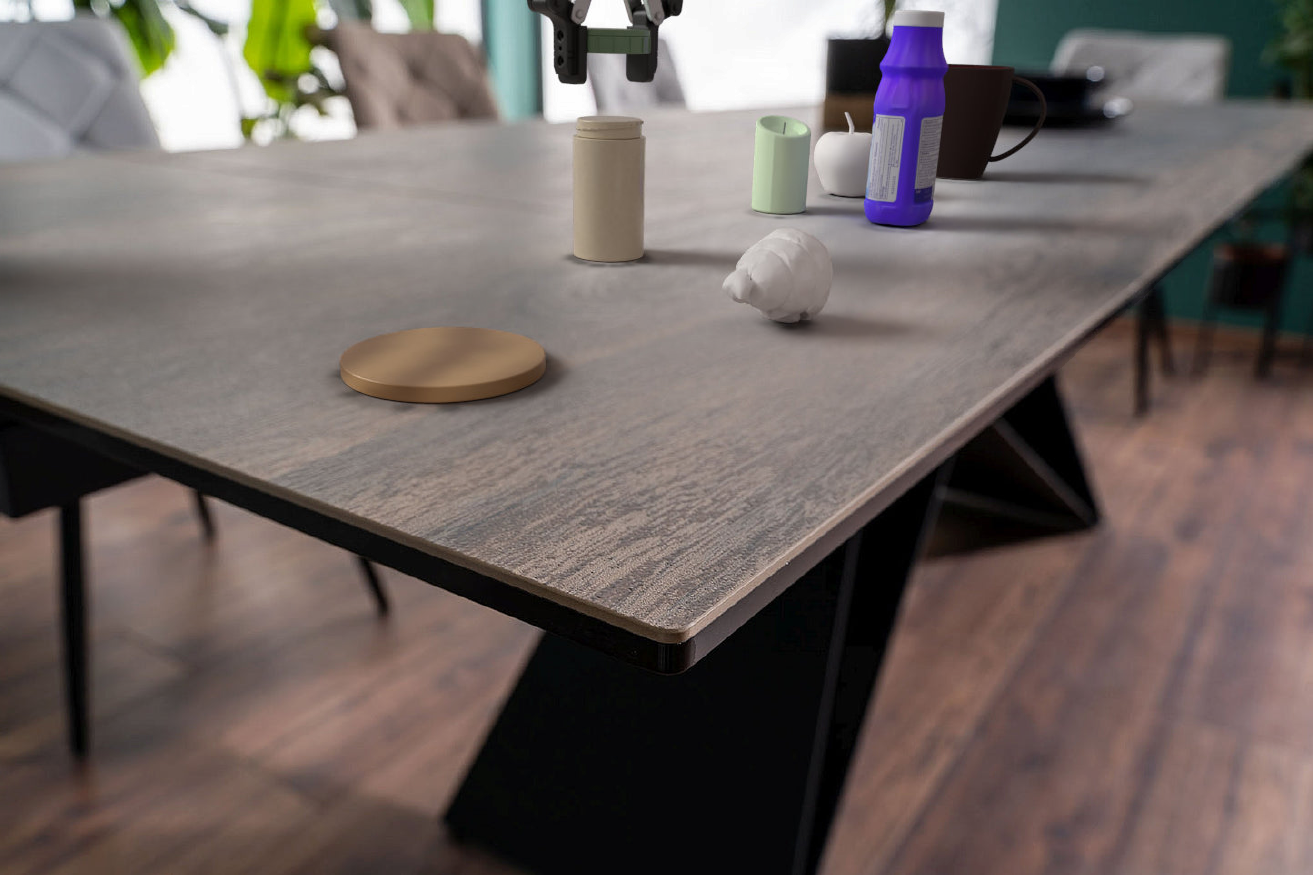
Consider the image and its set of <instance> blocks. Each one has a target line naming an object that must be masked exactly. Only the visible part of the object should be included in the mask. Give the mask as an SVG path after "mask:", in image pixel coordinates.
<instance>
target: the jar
mask: <svg viewBox="0 0 1313 875" xmlns="http://www.w3.org/2000/svg"><path fill="white" fill-rule="evenodd" d="M643 125H644V120H642V118H640V117H633V116H625V115H623V116H622V115H586V116H584V115H583V116H579V117H577V119H576V125H575V131H576V134H573V135H572V222H573V223H572V224H573V225H572V229H573V231H572V232H573V233H572V234H573V235H572V236H573V238H572V239H573V240H572V242H573V243H572V244H573V255H574V256H575V257H576V258H579V259H582V260H586V261H591V262H605V263H608V262H609V263H615V262H627V261H635V260H638V259H641V258H642V257H644V254H645V247H644V246H645V199H646V154H647V153H646V146H647V145H646V144H647V137H646V136H645V135H643V134H642V131H643Z"/></svg>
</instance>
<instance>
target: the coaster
mask: <svg viewBox="0 0 1313 875" xmlns="http://www.w3.org/2000/svg"><path fill="white" fill-rule="evenodd" d="M339 358H340V359H339V369H340V377H341V379H342V381H343V382H344V384H345V385H347V386H348V387H349V388H351V389H353V390H354V391H356V392H359V393H361V394H364V395H367V396H371V397H374V398H379V399H383V400H388V401H389V400H391V401H396V402H407V403H421V404H422V403H423V404H424V403H425V404H426V403H427V404H428V403H430V404H433V403H434V404H436V403H437V404H438V403H439V404H440V403H442V404H443V403H458V402H459V403H460V402H469V401H476V400H484V399H489V398H495V397H499V396H504V395H507V394H510V393H514V392H518V391H519V390H522V389H524V388H526V387H529V386H531V385H533V384H534V383H536V382H537V381H539V380H540V379H541V378H543V375H544V374H545V372H546V368H547V360H546V359H547V355H546V350H545V348H544V347H543V346H542V345H541V344H540V343H539V342H537V341H536V340H533V339H532V338H529V337H527V336H524V335H521V334H519V333H515V332H511V331H505V330H500V329H492V328H484V327H474V326H473V327H471V326H469V327H468V326H438V327H437V326H435V327H423V328H412V329H406V330H398V331H394V332H388V333H384V334H380V335H376V336H373V337H369V338H367V339H364V340H360V341H359V342H357V343H355V344H353V345H351V346H350V347H348V348H346V350H344V351H343V352H342V354H341V356H340V357H339Z"/></svg>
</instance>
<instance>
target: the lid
mask: <svg viewBox="0 0 1313 875" xmlns="http://www.w3.org/2000/svg"><path fill="white" fill-rule="evenodd" d="M650 49H651V37H650V30H645V29H627V28H619V27H587V54H603V55H604V54H605V55H608V54H609V55H626V54H648V53H650Z"/></svg>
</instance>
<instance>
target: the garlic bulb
mask: <svg viewBox="0 0 1313 875" xmlns="http://www.w3.org/2000/svg"><path fill="white" fill-rule="evenodd" d="M833 280H834V270H833V262H832V257H831V254H830V251H829V250H828V248H827V247H826V245H825V244H824V243H823V242H822V241H821V240H820V239H819V238H817V237H816V236H814V235H812V234H810V233H808V232H807V231H804V230H801V229H798V228H789V227H780V228H777V229H774V230H773V231H772V232H770V233H769V234H767V235H766V236H764V237H763V238H761V239H760V240H759V241H758V242H756V243H754V244H753V245H751V246H750V247H749V248H748V249H746V251H745V252H744V253H743V255H742V256H741V258H740V259H739V260H738V261H737V263H736V267H735V270H734V271H732V272H731V273H729V274H728V276H726V278H725V279H724V281H723V282H722V291H723V292H724V293H725V295H727V296H728V297H729V298H730V300H732V301H734V302H736V303H739V304H746V305H750V306H751V307H754V308H755V310H756V312H757V313H759V314H760V315H762V317H763V318H765V319H767V320H771V321H772V320H773V321H776V322H778V323H779V322H780V323H786V324H793V323H798V322H799V321H800V320H811V319H813V318H815V317H816V316H818V315H819V313H820V312H821V311H822V310H823V309H824V307H826V304H827V302H828V300H829V296H830V294H831V293H830V292H831V289H832V287H833V286H832V285H833Z"/></svg>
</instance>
